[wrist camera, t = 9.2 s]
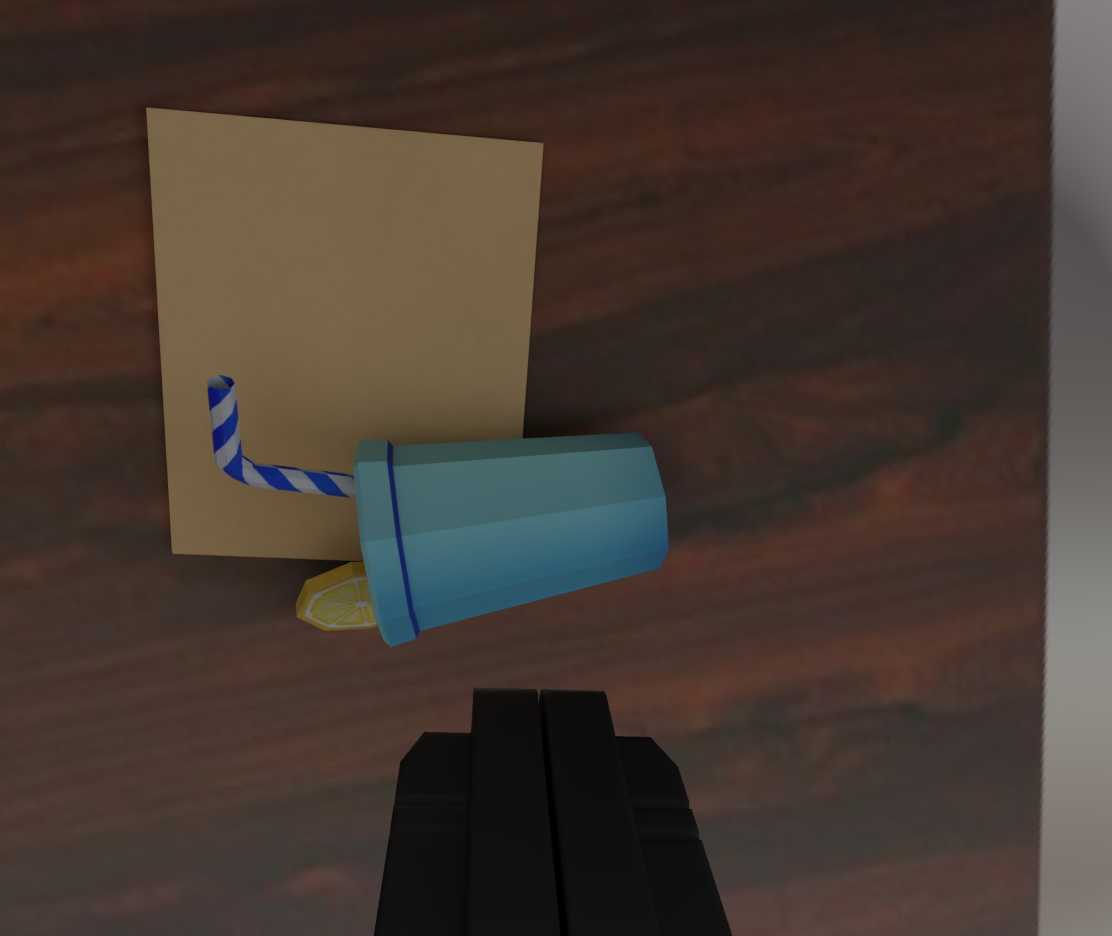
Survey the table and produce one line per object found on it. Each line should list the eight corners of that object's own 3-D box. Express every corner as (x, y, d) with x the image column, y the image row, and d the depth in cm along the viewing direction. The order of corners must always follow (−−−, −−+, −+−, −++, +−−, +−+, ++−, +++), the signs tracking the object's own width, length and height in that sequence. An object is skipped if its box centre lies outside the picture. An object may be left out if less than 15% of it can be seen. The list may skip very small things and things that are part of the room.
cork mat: (543, 143, 32) (543, 142, 32) (513, 564, 37) (513, 567, 37) (148, 108, 31) (145, 107, 30) (174, 550, 36) (171, 553, 36)
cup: (628, 268, 31) (200, 319, 29) (696, 390, 26) (168, 463, 24) (619, 541, 41) (291, 593, 39) (668, 676, 35) (285, 746, 33)
